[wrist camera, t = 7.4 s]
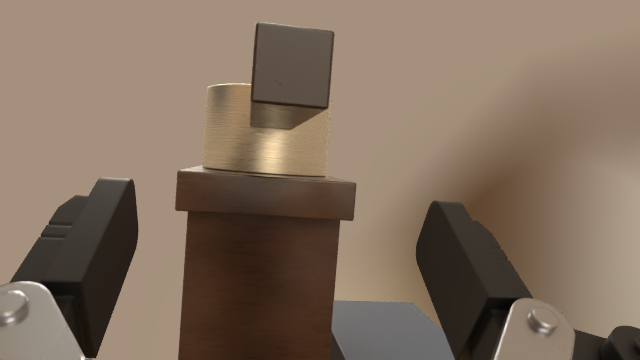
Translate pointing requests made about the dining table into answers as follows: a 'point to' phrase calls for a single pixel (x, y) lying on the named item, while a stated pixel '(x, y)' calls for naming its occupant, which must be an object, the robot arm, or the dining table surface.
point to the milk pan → (274, 107)
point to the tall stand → (259, 263)
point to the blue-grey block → (385, 332)
